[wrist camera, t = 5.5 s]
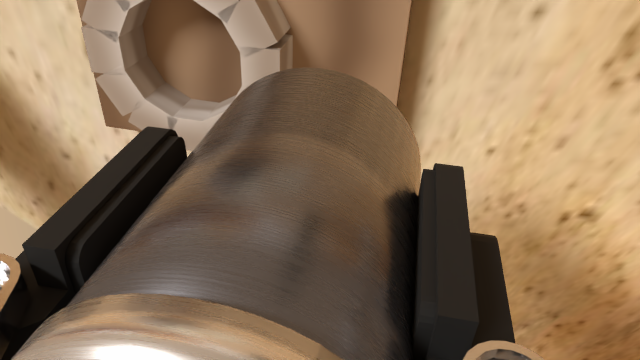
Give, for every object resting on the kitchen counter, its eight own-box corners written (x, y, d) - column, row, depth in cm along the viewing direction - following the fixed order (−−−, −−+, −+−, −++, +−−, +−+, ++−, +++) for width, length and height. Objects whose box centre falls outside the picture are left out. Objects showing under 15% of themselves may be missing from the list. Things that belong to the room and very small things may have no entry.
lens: (443, 77, 10) (466, 480, 4) (408, 261, 13) (385, 672, 6) (205, 51, 11) (-145, 349, 4) (221, 232, 14) (29, 575, 7)
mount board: (421, -65, 23) (416, -50, 20) (390, 151, 30) (382, 191, 27) (80, -91, 26) (22, -82, 22) (122, 112, 33) (83, 144, 29)
